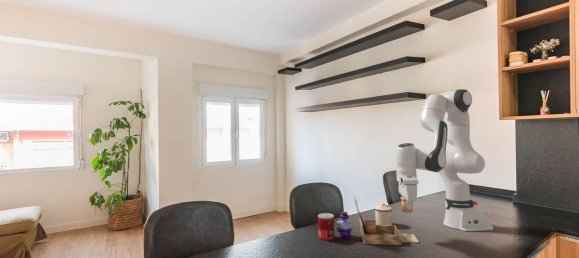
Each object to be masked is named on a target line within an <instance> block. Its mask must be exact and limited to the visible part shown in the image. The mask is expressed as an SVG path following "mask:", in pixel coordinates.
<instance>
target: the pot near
mask: <svg viewBox="0 0 579 258" xmlns="http://www.w3.org/2000/svg"><path fill="white" fill-rule="evenodd" d="M400 200H401V201H400V203H401V212H403V213H407V214H408V213H411V214H412V213H413V212H414V205H413V204H414V202H412V204H411V209H407V206H406V204H407V200H406V199H405V198H404V197H403V196H402V195H401V196H400Z"/></svg>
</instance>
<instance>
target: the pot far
mask: <svg viewBox="0 0 579 258" xmlns="http://www.w3.org/2000/svg"><path fill="white" fill-rule="evenodd" d="M363 222H364V225H365V234H369V235H376V219H373V218H372V219H371V218H366V219H364V220H363Z"/></svg>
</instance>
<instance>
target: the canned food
mask: <svg viewBox="0 0 579 258" xmlns="http://www.w3.org/2000/svg"><path fill="white" fill-rule="evenodd" d="M317 229H318V230H317V231H318V235H317V236H318V238H319V239H320V240H322V241H332V240H335V237H336V236H335V215H334V214H333V213H329V212H328V213H327V212H323V213H322V212H321V213H319V214H318V215H317Z"/></svg>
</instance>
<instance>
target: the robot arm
mask: <svg viewBox="0 0 579 258" xmlns="http://www.w3.org/2000/svg"><path fill="white" fill-rule="evenodd" d="M472 97H473V96H472V93H471V92H470V91H468V90H467V89H464V88H463V89H462V88H461V89H454V90H447V91H444V92H440V93H433V94H430V95H429V96H428V97H427V98H426V100H425V102H424V104H423V106H422V108H421V111H420V113H419V119H418V122H419V123H420V125H421V127H423V128H424V129H425V130H427V131H429V132H432V133H434V141H433V146H432V147H433V148H431V149H429V150H428V149H420V148H417V147H415V144H414V143H412V142H405V143H401V144H398V146H397V147H396V153H395V163H396V181H397V182H398V193H399V194H400V195H401V197H402V196H403V197H404V198H405V199H406V200H407V204H406V206H407V209H411V204H412V202H413V203H414V202H416V201H417V199H418V185H419V179H418V177H417V176H418V175H417V170H421V171H428V172H432V173H438V174H439V175H440V176H441V178H442V180H443V182H444V183H443V184H444V189H445V191H444V192H445V197H444V208H445V214H444V218H443V223H442V224H443V225H444V226H445V227H448V228H451V229H456V230H461V231H462V232H463V231H464V232H477V231H478V232H479V231H482V232H483V231H494V228H495V227H494V226H493V224H490V223H489V221H488V218H487V215H486V214H484V213H483V212H482V211H481V210H479V209H478V208H477V207H475V206H478V204H479V203H478V201H476V200H472V199H471V195H470V193H471V192H470V185H469V183H468V182H466V181H465V180H464V179H462V178H460V177H459V175H458V174H468V175H470V174H471V175H472V174H481V172H483V171H484V169H485V167H486V161H485V159H484V157H483V156H482V155H481V154H480V153H478V152H477V151H476V150H475V149H474V147H473V145H472V143H471V138H470V137H471V134H470V131H471V130H470V129H471V127H470V126H471V122H470V121H471V120H470V115H469V114H470V113H469V109H470V107H471V105H472V102H473V98H472ZM446 114H447V117H446V122H445V115H446ZM447 143H448V144H450V145H451V146H453V147H455V148H456V151H446V150H447Z"/></svg>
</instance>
